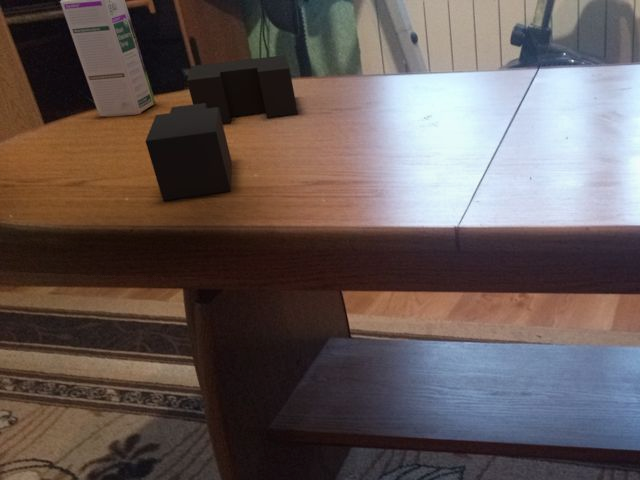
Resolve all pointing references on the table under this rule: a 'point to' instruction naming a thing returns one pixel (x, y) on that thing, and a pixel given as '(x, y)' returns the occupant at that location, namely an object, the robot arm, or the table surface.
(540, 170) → the table surface
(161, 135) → the block
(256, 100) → the block
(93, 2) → the syrup box
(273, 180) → the table surface
